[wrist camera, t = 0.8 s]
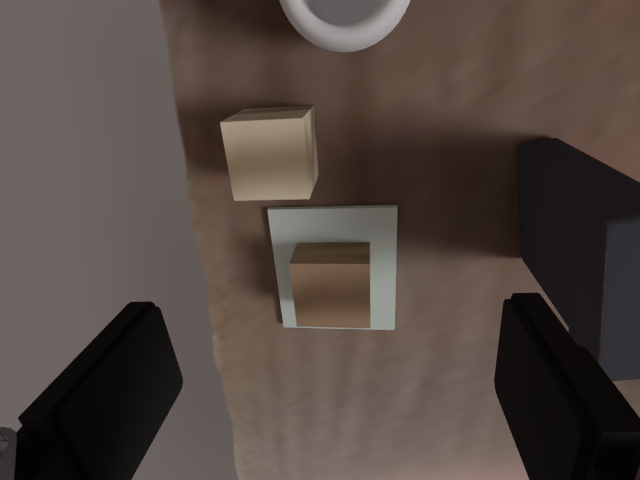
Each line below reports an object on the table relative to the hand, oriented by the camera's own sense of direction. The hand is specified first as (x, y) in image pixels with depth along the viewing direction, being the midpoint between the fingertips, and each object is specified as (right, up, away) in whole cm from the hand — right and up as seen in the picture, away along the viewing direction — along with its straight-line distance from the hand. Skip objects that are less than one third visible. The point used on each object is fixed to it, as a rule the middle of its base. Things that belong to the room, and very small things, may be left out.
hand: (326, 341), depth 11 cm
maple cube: (-3, +11, +23) cm, 26 cm away
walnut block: (+1, -1, +28) cm, 28 cm away
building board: (+1, 0, +29) cm, 29 cm away
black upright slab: (+19, +6, +23) cm, 30 cm away
